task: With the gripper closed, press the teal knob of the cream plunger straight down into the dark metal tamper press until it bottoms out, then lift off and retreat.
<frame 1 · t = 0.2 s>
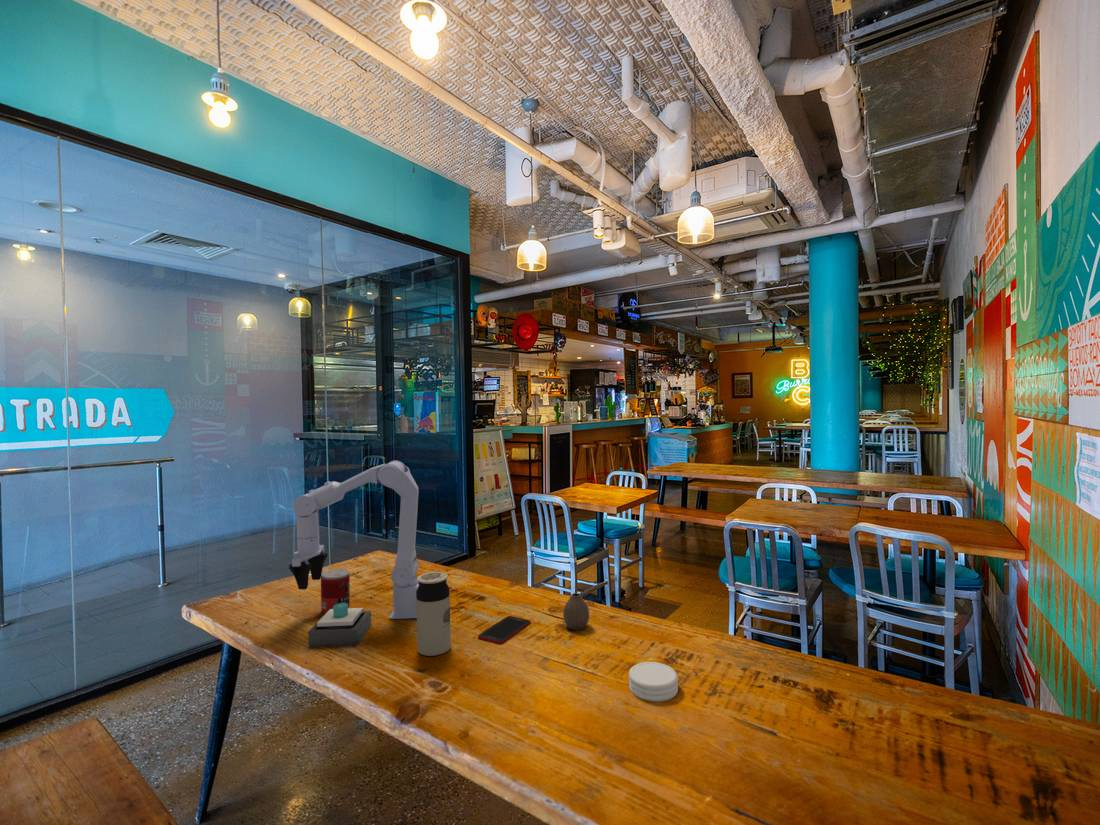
hand: (309, 584, 148), 10 cm above the table, fingers open, 7 cm apart
travel mug: (434, 650, 128), on the table
plunger: (340, 612, 137), point 6 cm above the table, slide at 0.0 cm
cell phone: (505, 632, 138), on the table
coaster: (653, 690, 108), on the table
press housing: (341, 635, 137), on the table
vase: (576, 628, 139), on the table
canned food: (335, 610, 154), on the table
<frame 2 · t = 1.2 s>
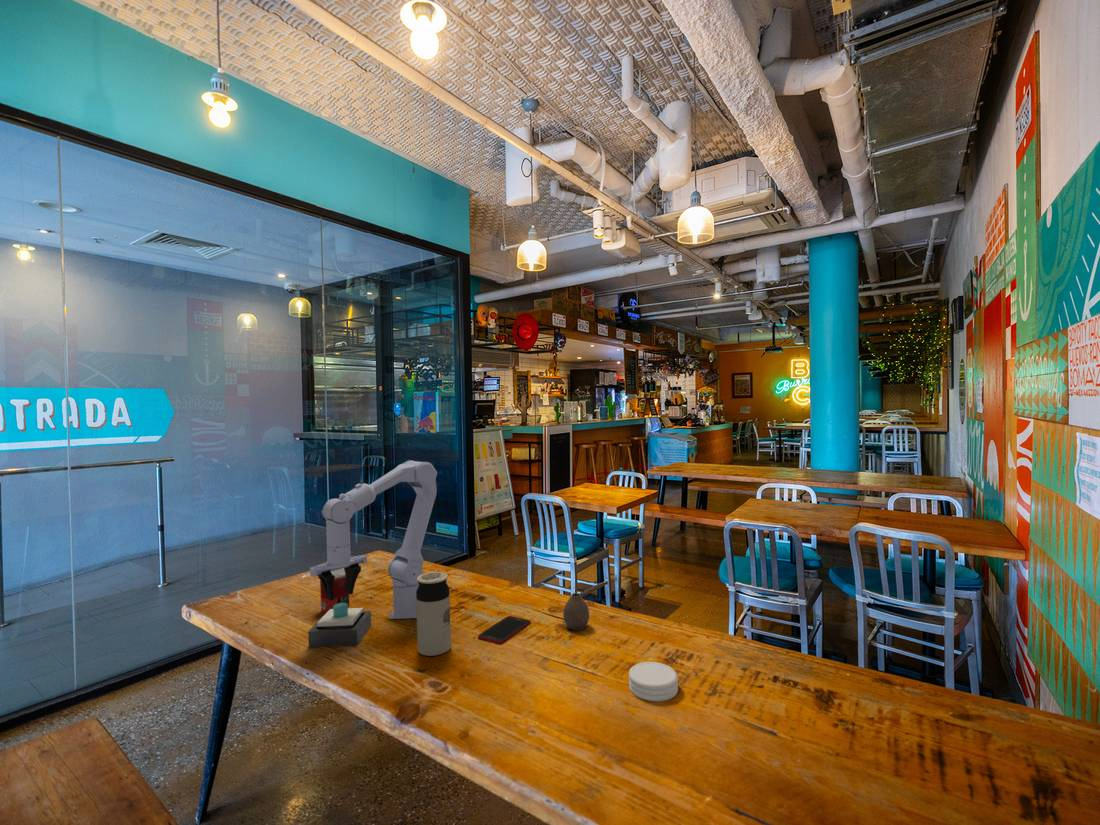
hand: (340, 596, 137), 10 cm above the table, fingers open, 5 cm apart
nothing on the table moved.
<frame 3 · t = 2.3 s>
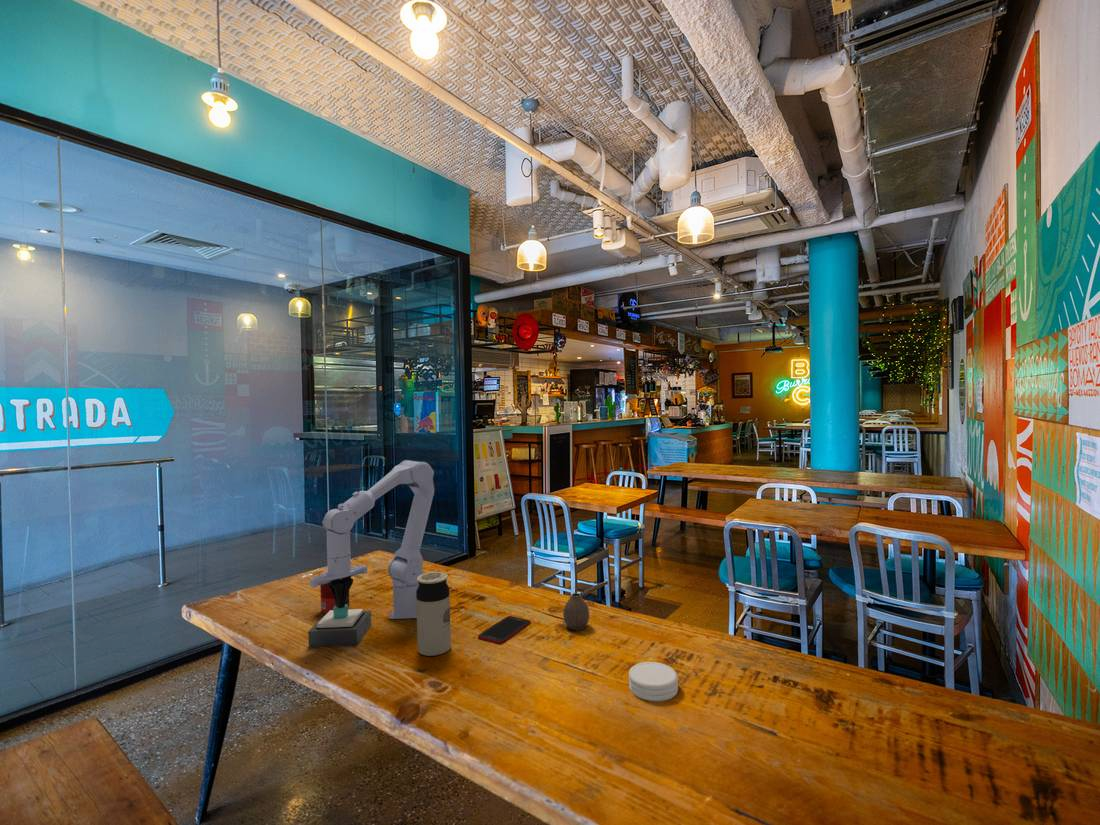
hand: (340, 606, 137), 8 cm above the table, fingers closed, pressing on plunger
plunger: (340, 613, 137), point 6 cm above the table, slide at 0.3 cm, touching gripper
everything else where it was.
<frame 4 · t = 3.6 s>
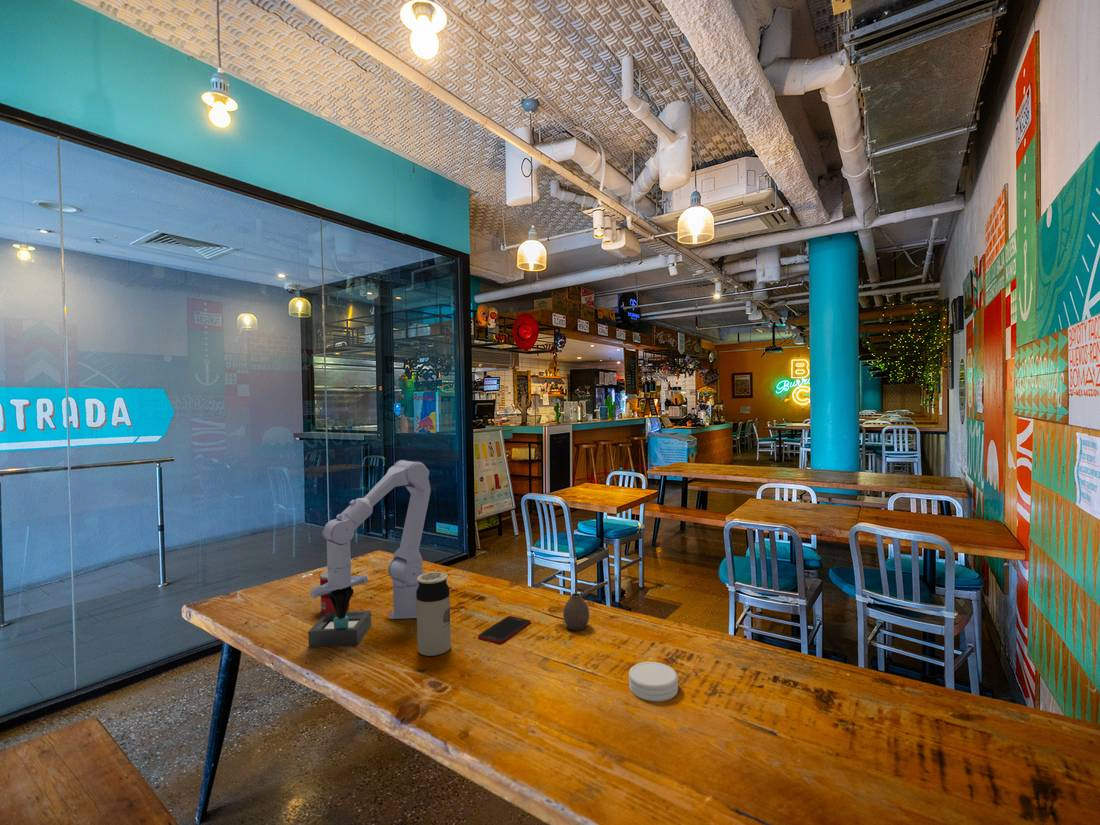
hand: (341, 617, 137), 5 cm above the table, fingers closed
plunger: (341, 624, 137), point 3 cm above the table, slide at 3.4 cm
everything else where it was.
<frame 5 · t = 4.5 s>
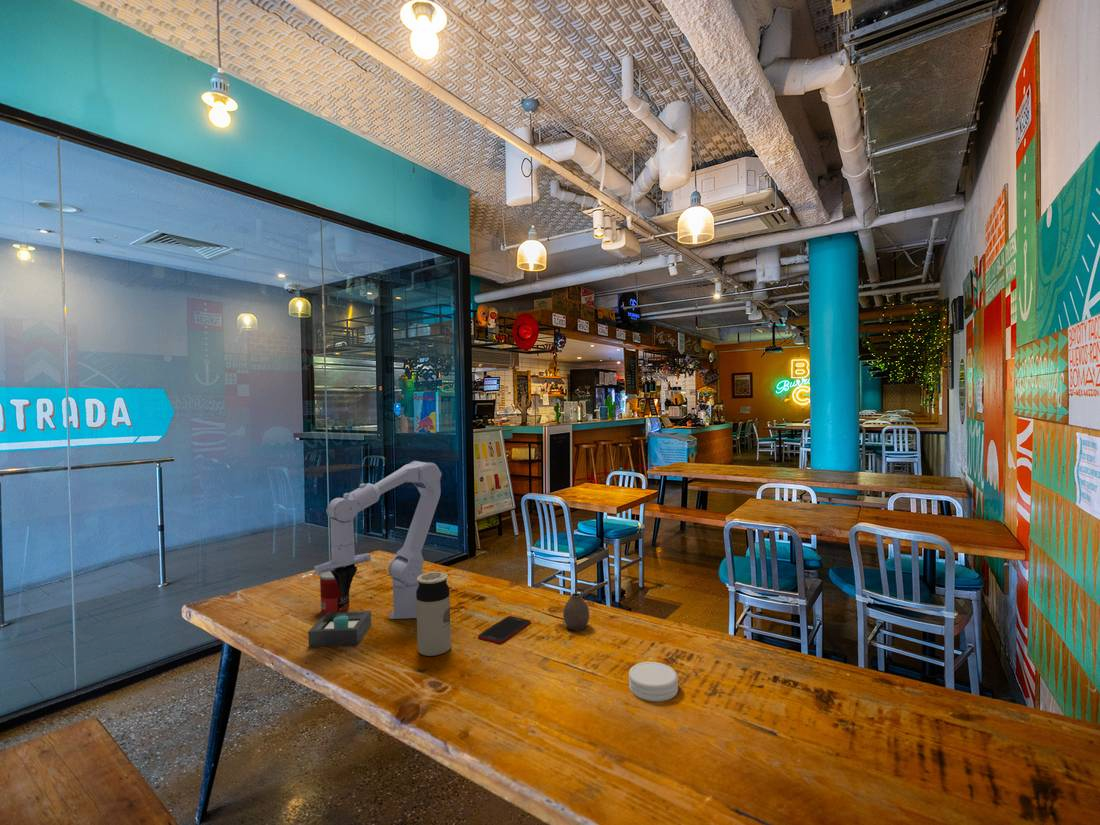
hand: (344, 594, 138), 10 cm above the table, fingers closed
nothing on the table moved.
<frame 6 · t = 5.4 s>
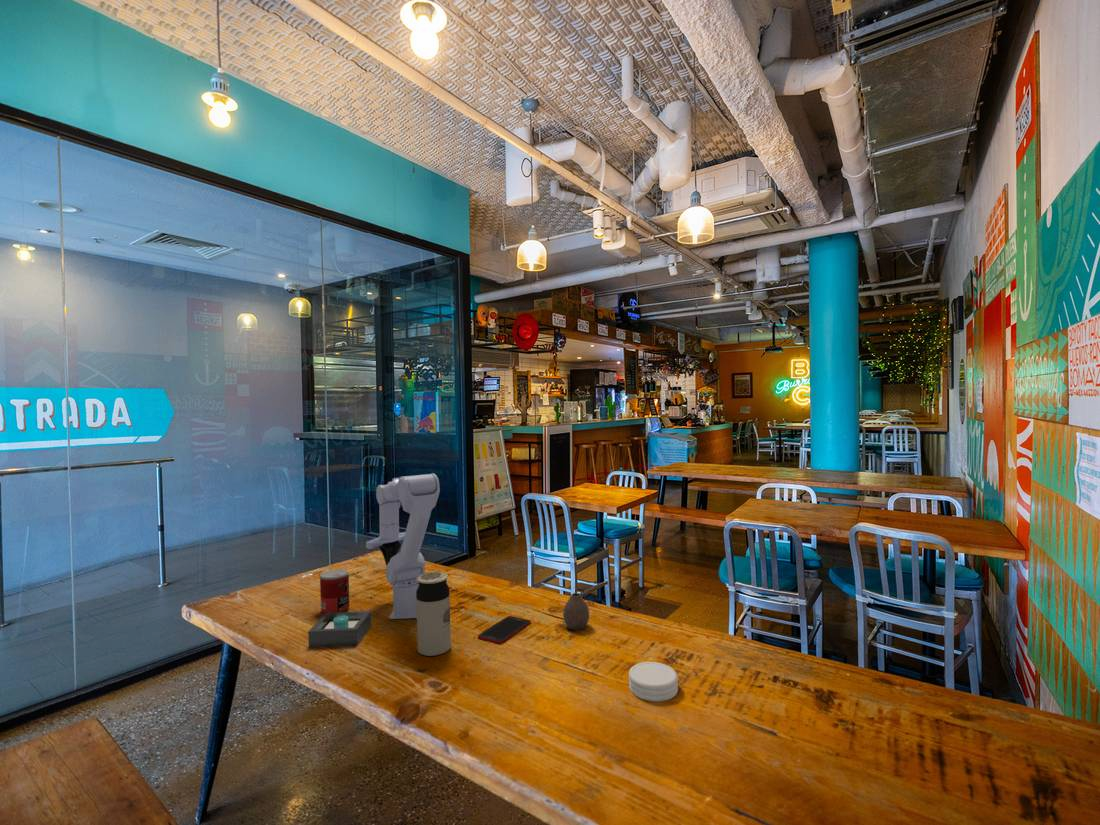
hand: (389, 566, 161), 11 cm above the table, fingers closed
nothing on the table moved.
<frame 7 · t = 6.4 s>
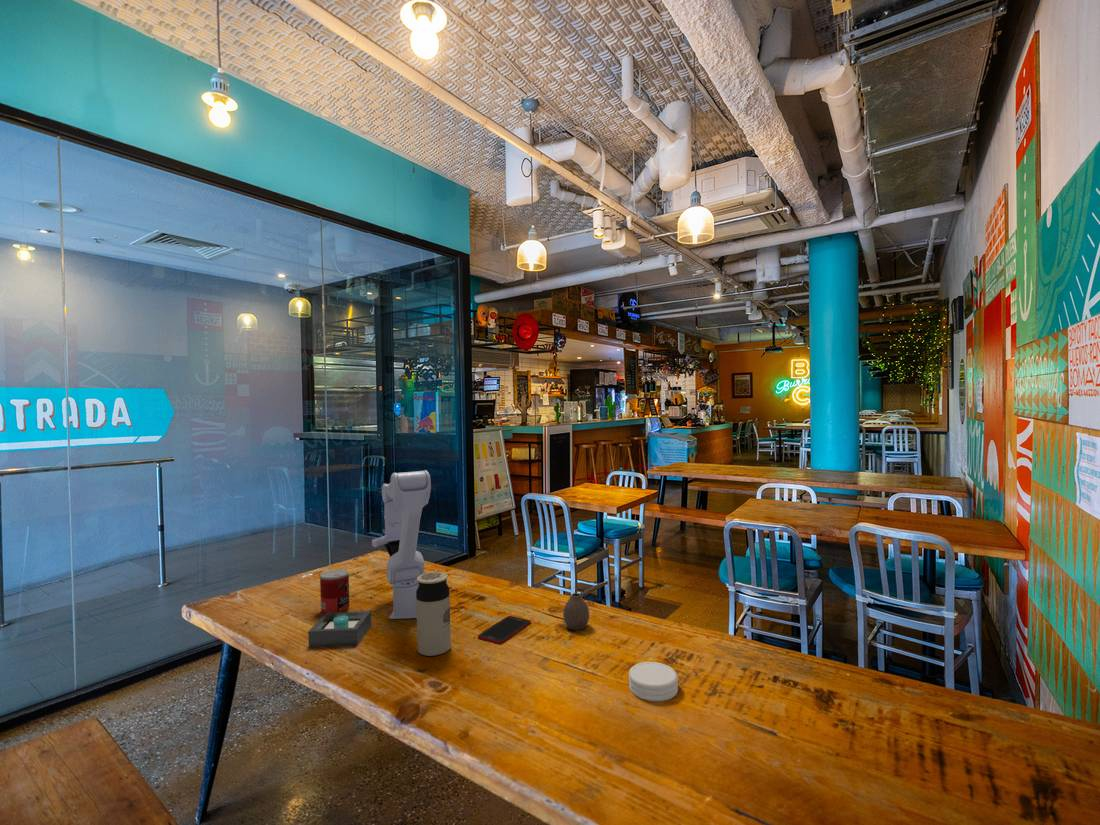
hand: (395, 564, 163), 10 cm above the table, fingers closed
nothing on the table moved.
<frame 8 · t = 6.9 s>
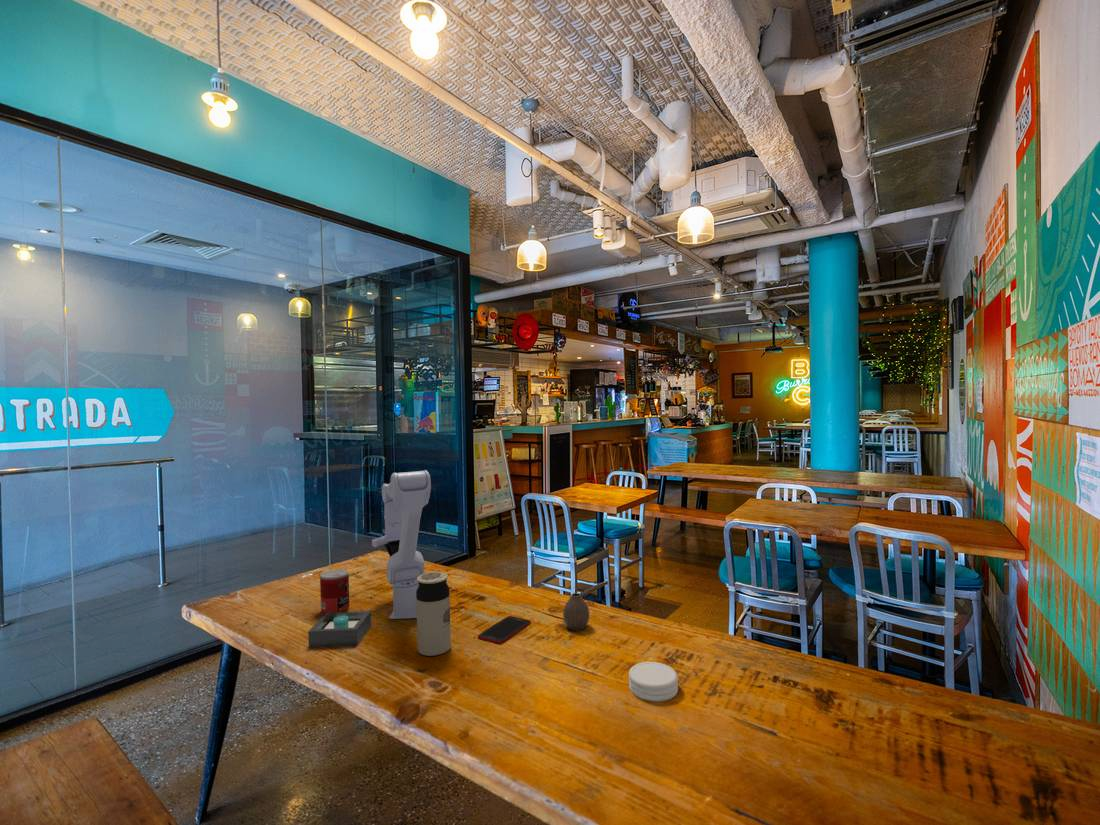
hand: (395, 564, 163), 10 cm above the table, fingers closed
nothing on the table moved.
at the end: plunger slide at 3.4 cm; the gripper is holding nothing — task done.
